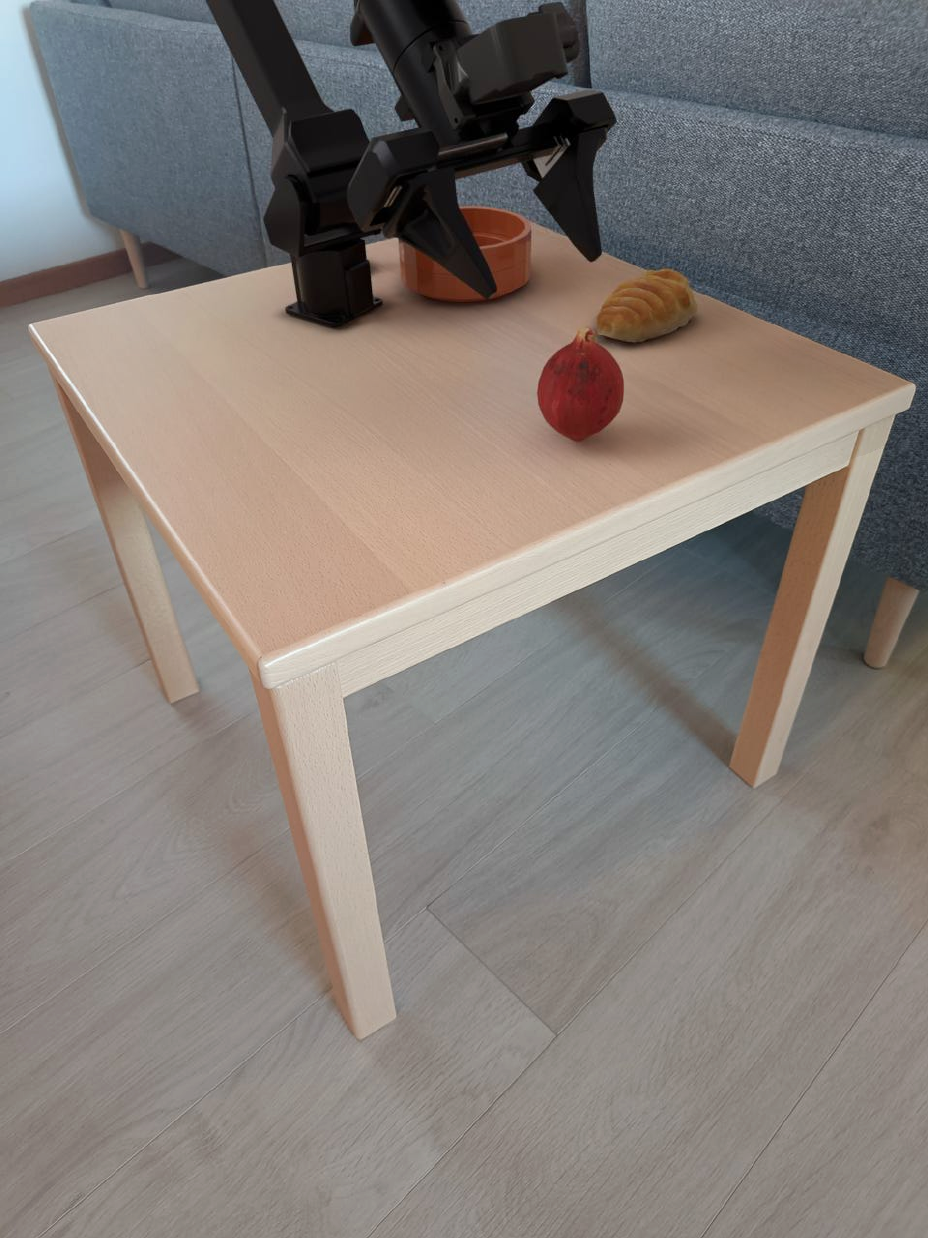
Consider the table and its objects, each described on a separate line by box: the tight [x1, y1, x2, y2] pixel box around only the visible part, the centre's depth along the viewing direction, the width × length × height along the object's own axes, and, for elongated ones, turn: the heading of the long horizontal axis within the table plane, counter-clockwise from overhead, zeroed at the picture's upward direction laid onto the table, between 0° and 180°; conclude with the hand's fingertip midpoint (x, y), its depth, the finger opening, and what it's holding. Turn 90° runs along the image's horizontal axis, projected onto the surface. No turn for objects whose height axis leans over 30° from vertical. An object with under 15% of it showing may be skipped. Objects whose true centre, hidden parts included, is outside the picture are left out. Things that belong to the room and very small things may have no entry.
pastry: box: [596, 268, 699, 344], centre depth 75 cm, size 9×7×4 cm
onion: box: [536, 326, 625, 442], centre depth 60 cm, size 6×6×8 cm
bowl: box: [397, 205, 532, 303], centre depth 83 cm, size 12×12×5 cm
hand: (546, 276), depth 58 cm, fingers open, 9 cm apart
